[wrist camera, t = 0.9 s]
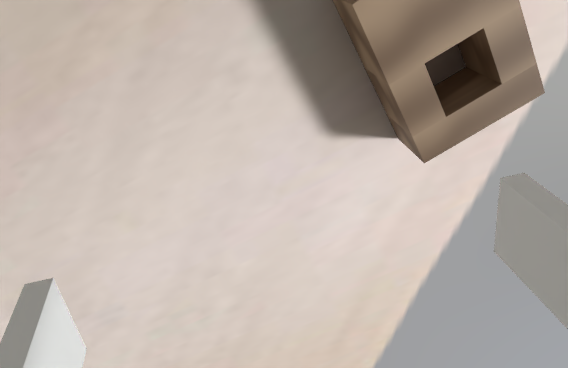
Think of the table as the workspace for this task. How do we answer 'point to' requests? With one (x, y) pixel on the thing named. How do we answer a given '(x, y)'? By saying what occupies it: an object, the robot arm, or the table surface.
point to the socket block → (432, 42)
